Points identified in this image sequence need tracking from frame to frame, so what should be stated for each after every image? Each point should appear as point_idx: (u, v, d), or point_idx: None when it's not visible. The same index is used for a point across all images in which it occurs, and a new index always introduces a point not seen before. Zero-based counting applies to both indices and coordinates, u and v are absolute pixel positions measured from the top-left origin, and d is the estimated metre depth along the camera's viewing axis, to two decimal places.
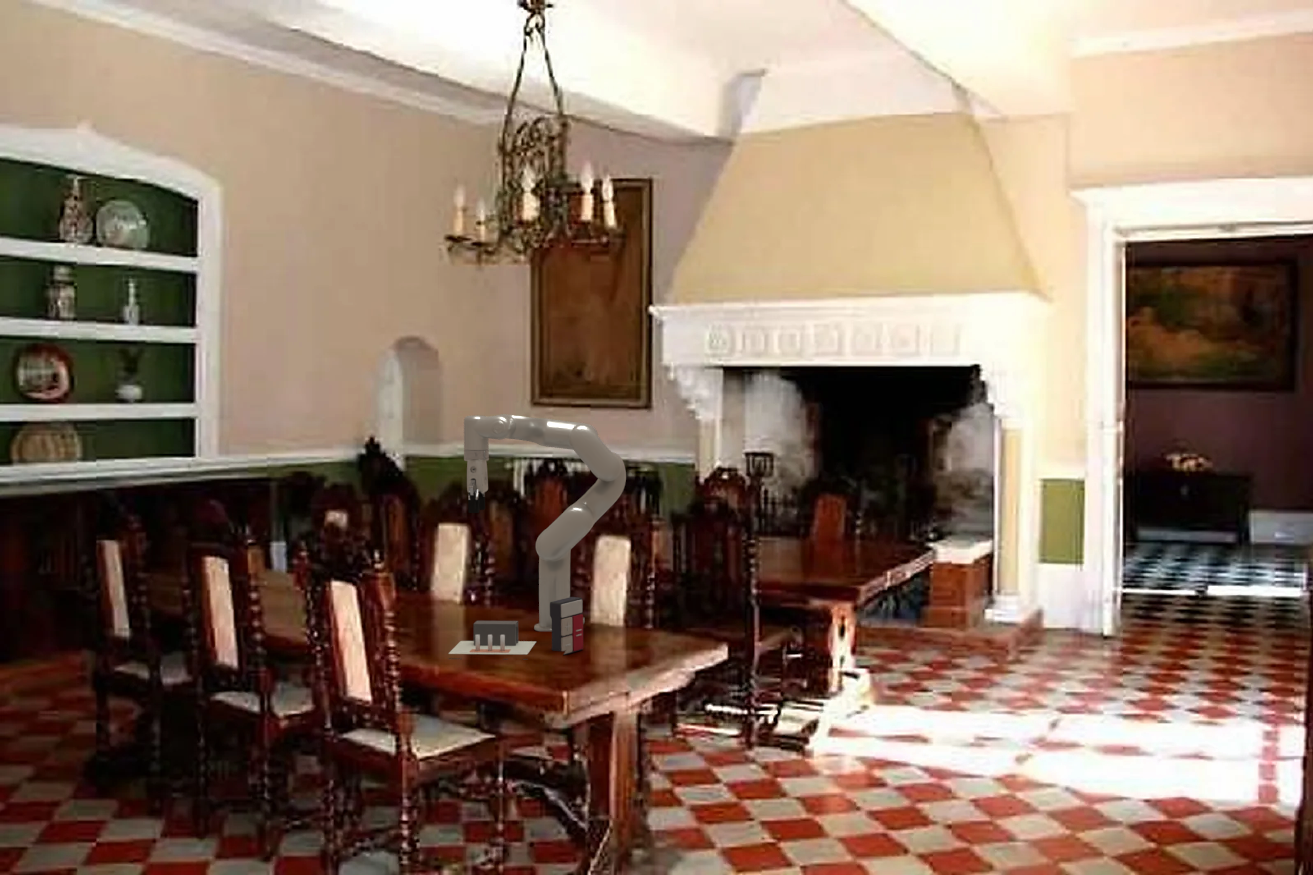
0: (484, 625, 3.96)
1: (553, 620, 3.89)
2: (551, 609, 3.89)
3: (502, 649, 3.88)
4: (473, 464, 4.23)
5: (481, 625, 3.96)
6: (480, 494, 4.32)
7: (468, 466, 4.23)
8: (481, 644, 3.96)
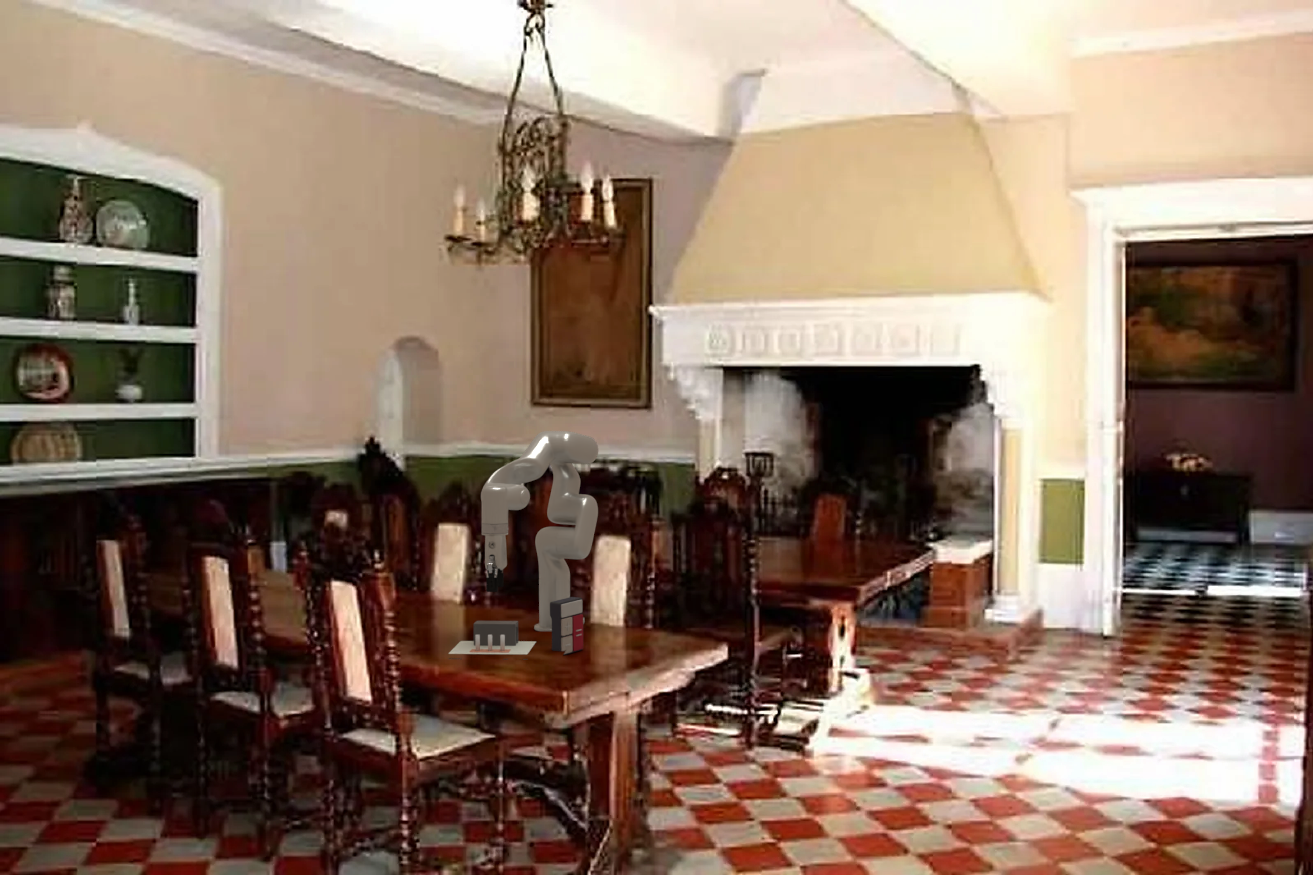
0: (484, 625, 3.96)
1: (553, 620, 3.89)
2: (551, 609, 3.89)
3: (502, 649, 3.88)
4: (492, 539, 3.92)
5: (481, 625, 3.96)
6: (498, 570, 4.02)
7: (486, 541, 3.93)
8: (481, 644, 3.96)
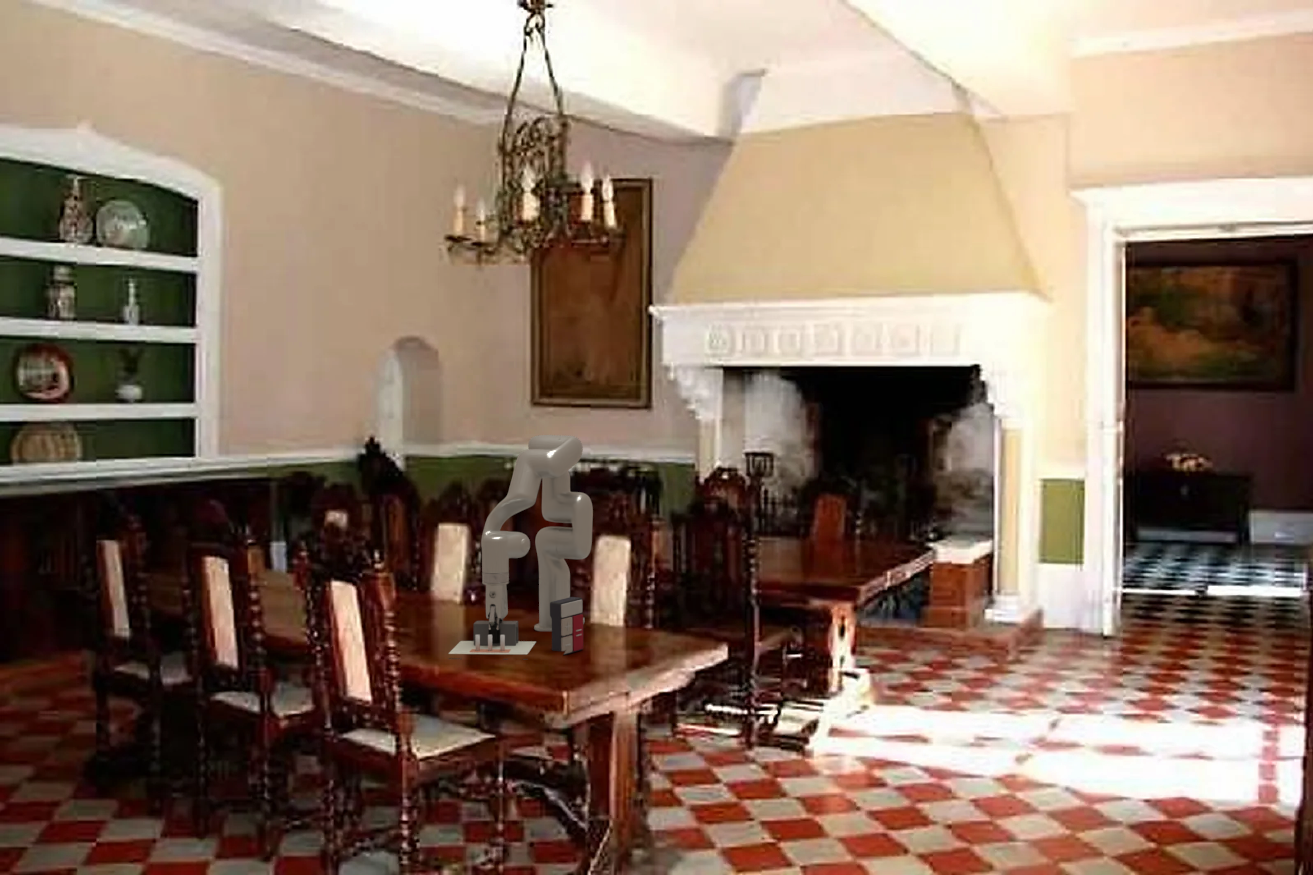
0: (484, 625, 3.96)
1: (553, 620, 3.89)
2: (551, 609, 3.89)
3: (502, 649, 3.88)
4: (492, 589, 3.93)
5: (481, 625, 3.96)
6: None
7: (487, 591, 3.94)
8: (481, 644, 3.96)
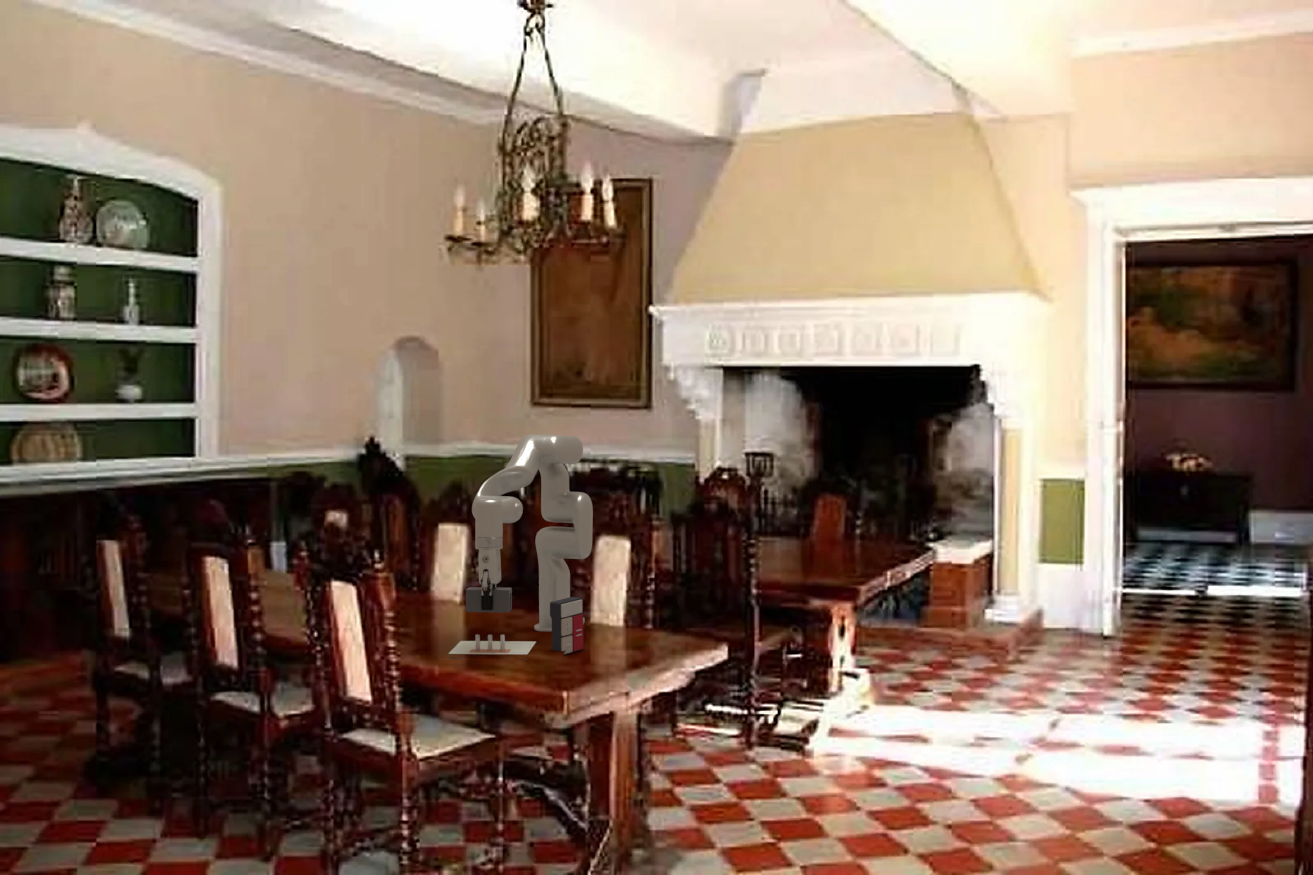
0: (477, 591, 3.85)
1: (553, 620, 3.89)
2: (551, 609, 3.89)
3: (502, 649, 3.88)
4: (486, 553, 3.83)
5: (473, 591, 3.85)
6: None
7: (480, 555, 3.83)
8: (473, 610, 3.85)
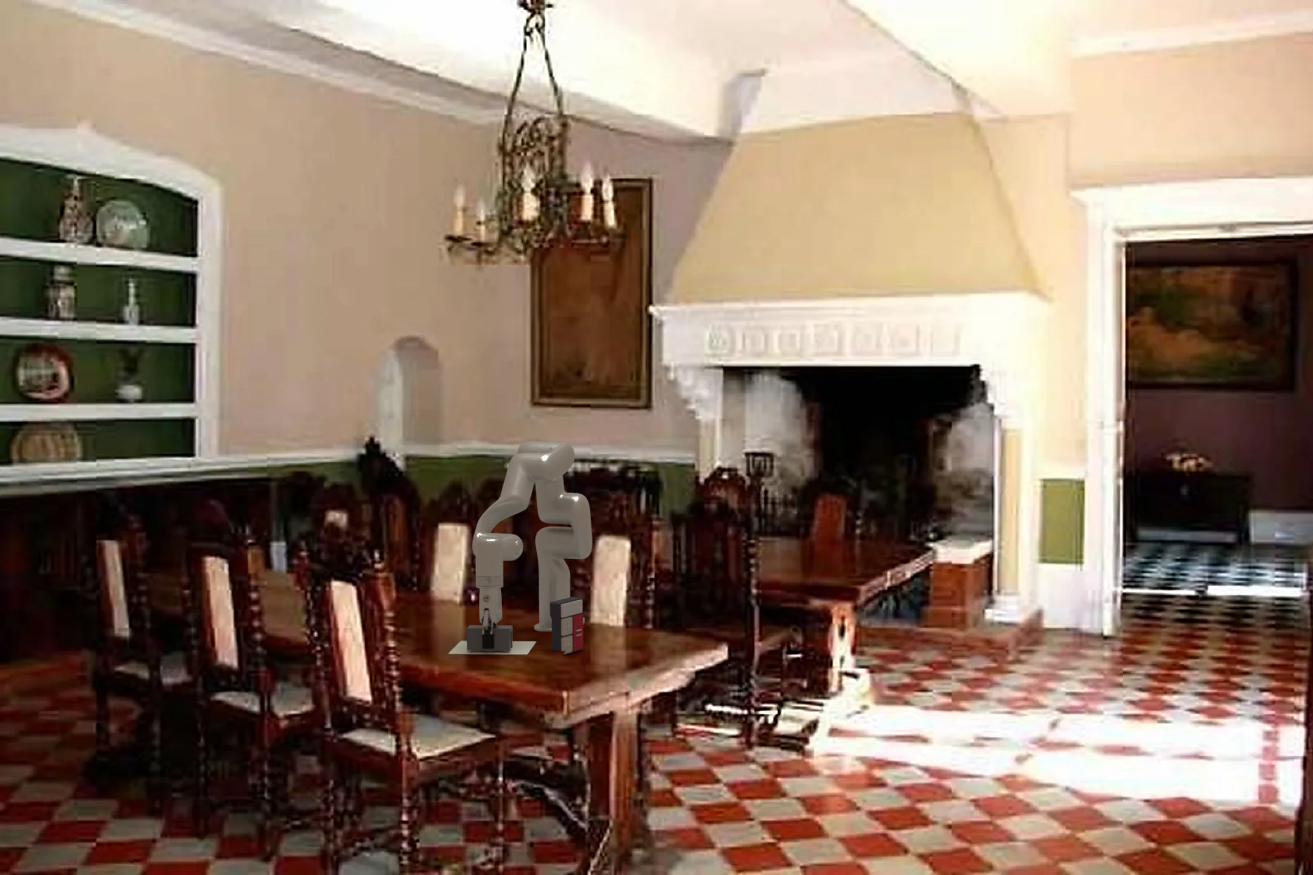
0: (477, 630, 3.86)
1: (553, 620, 3.89)
2: (551, 609, 3.89)
3: None
4: (486, 592, 3.83)
5: (474, 630, 3.86)
6: None
7: (481, 594, 3.84)
8: (474, 649, 3.86)
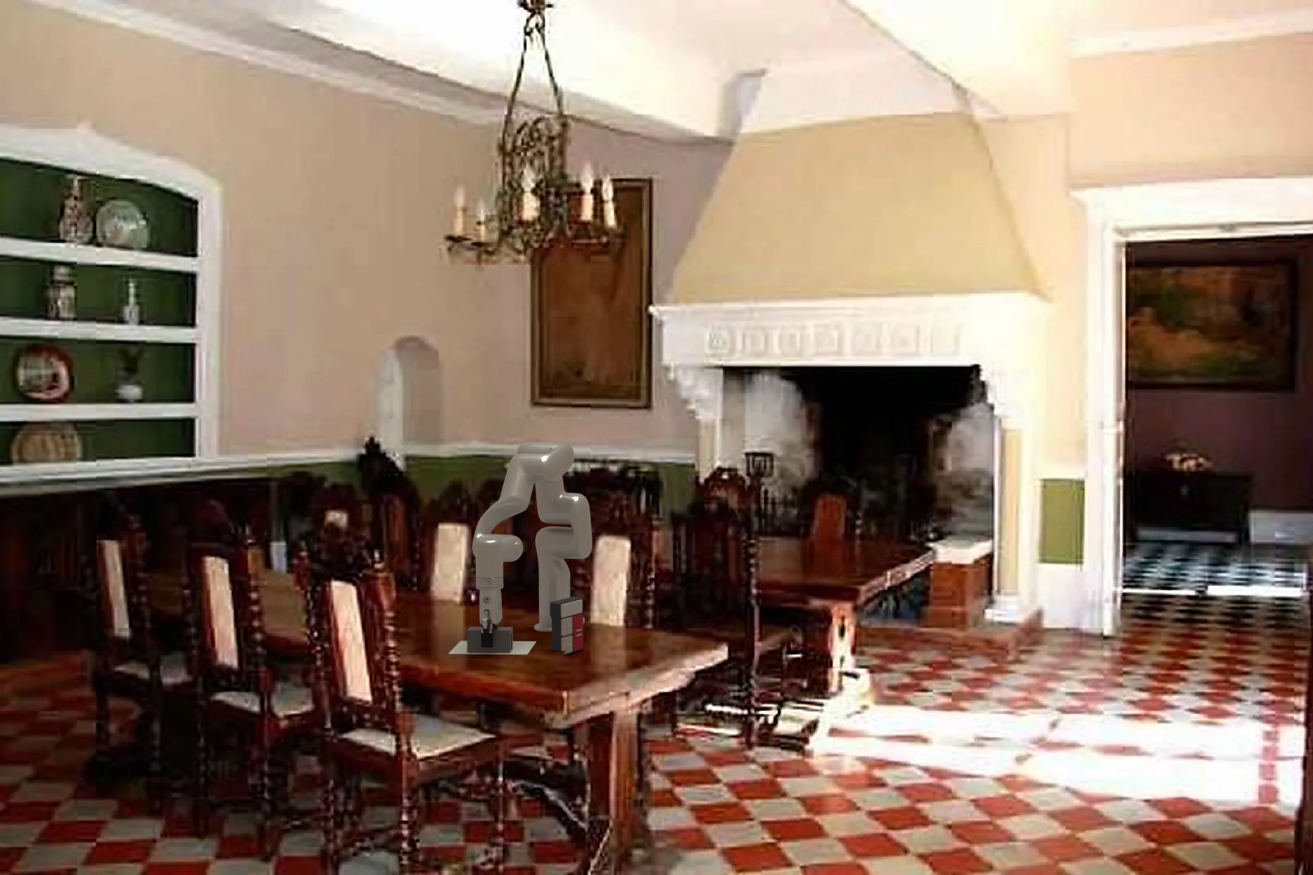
0: (478, 631, 3.86)
1: (553, 620, 3.89)
2: (551, 609, 3.89)
3: None
4: (486, 594, 3.83)
5: (475, 631, 3.86)
6: (493, 623, 3.93)
7: (481, 596, 3.84)
8: (475, 651, 3.86)
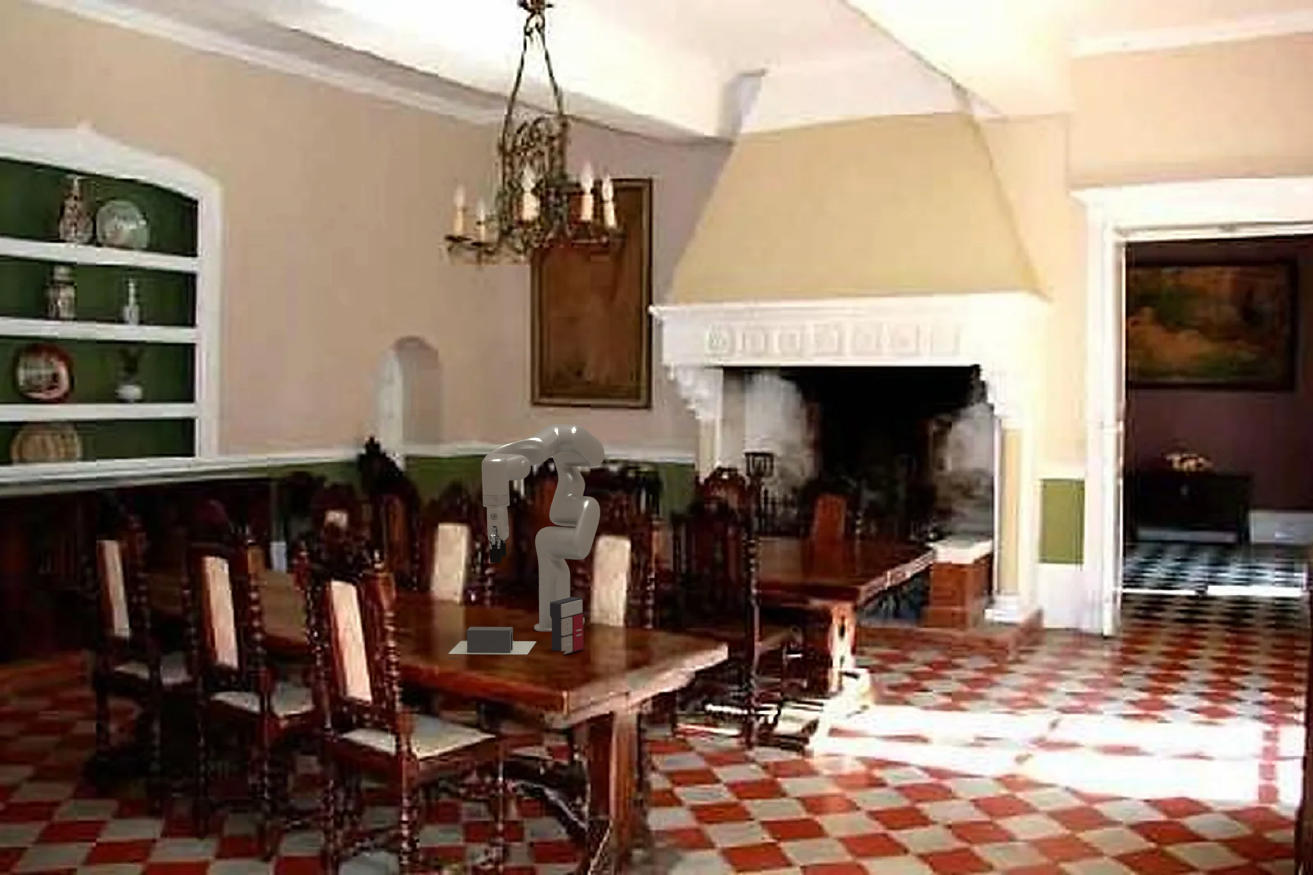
0: (478, 631, 3.86)
1: (553, 620, 3.89)
2: (551, 609, 3.89)
3: None
4: (494, 511, 3.95)
5: (475, 631, 3.86)
6: (500, 540, 4.05)
7: (488, 513, 3.95)
8: (475, 651, 3.86)
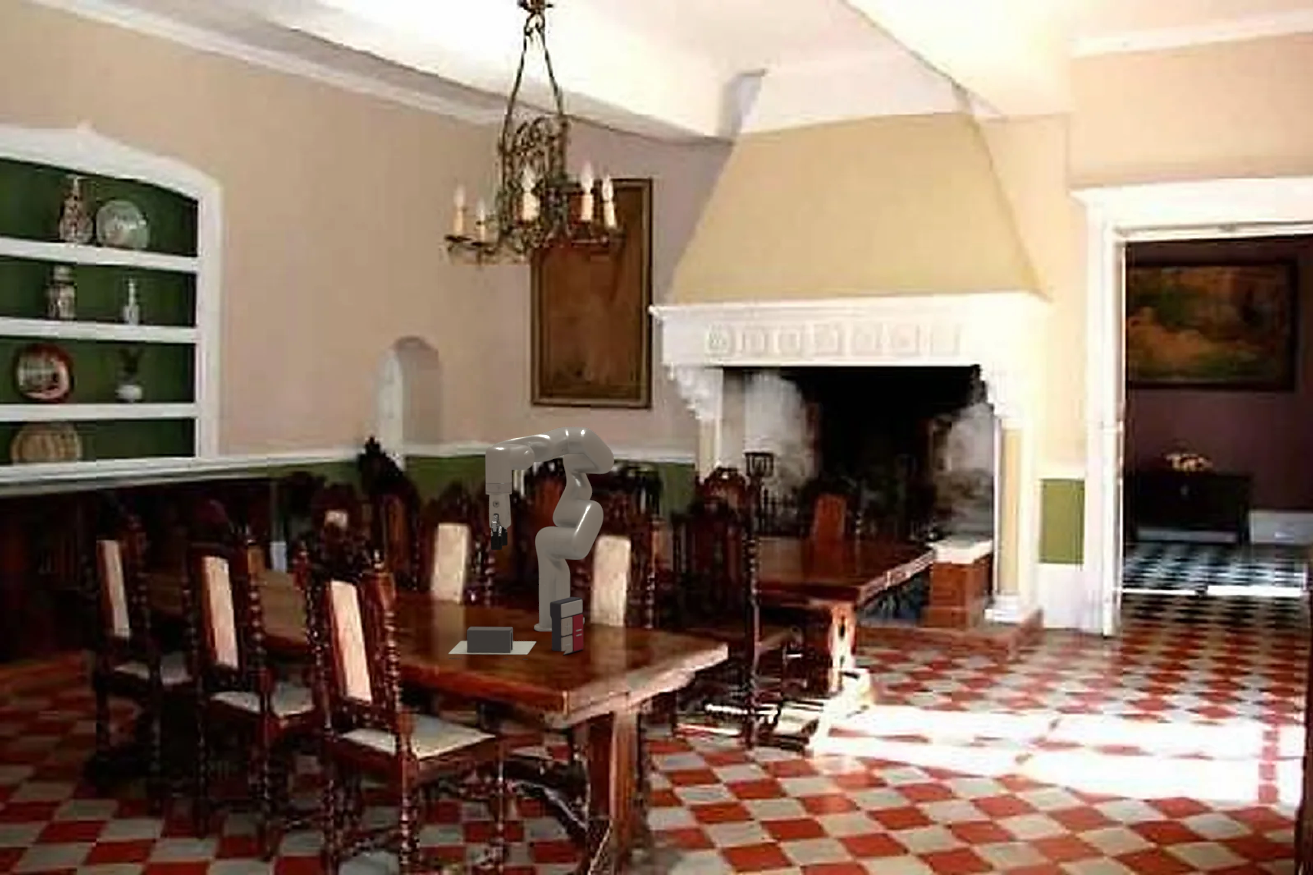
0: (478, 631, 3.86)
1: (553, 620, 3.89)
2: (551, 609, 3.89)
3: None
4: (496, 498, 3.99)
5: (475, 631, 3.86)
6: (502, 529, 4.09)
7: (490, 500, 3.99)
8: (475, 651, 3.86)
